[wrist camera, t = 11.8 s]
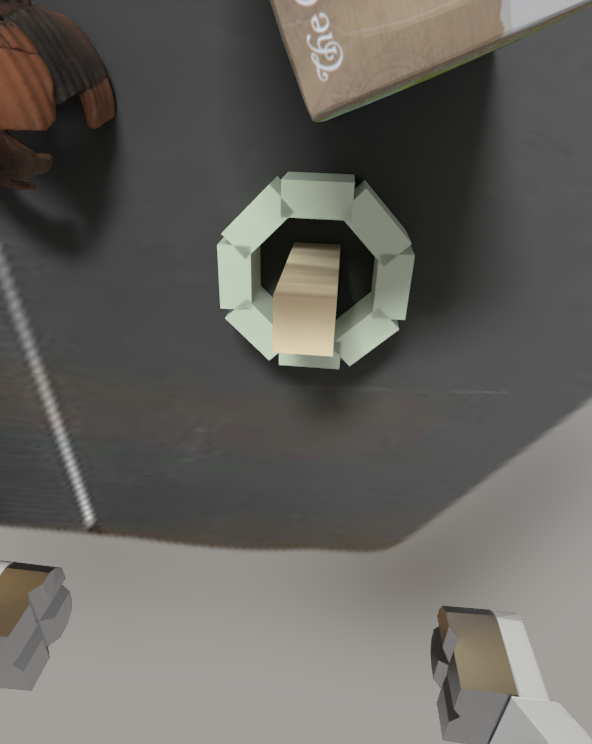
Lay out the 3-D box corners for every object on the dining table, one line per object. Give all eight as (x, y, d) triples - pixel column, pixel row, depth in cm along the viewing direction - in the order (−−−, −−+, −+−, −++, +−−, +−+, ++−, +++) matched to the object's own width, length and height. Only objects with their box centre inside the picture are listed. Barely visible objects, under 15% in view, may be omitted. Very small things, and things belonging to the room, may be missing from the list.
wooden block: (337, 289, 32) (332, 356, 24) (293, 286, 33) (272, 352, 24) (340, 244, 31) (336, 299, 22) (294, 242, 31) (273, 295, 22)
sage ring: (392, 349, 34) (396, 373, 31) (234, 338, 35) (223, 360, 32) (417, 177, 29) (425, 185, 26) (227, 169, 29) (213, 176, 26)
